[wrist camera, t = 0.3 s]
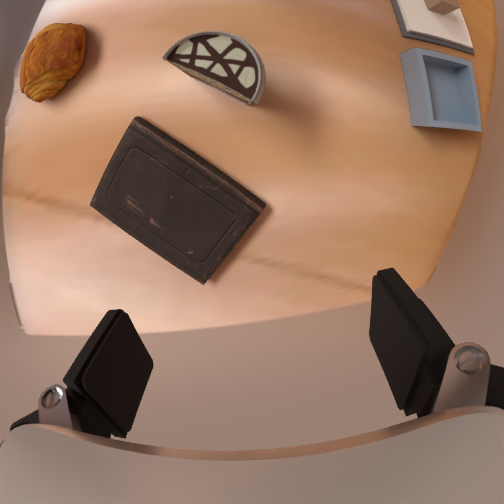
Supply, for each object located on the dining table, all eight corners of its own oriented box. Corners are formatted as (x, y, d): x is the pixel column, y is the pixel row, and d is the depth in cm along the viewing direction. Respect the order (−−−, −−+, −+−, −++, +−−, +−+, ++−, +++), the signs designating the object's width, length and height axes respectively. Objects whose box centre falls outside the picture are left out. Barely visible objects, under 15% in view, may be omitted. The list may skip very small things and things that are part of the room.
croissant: (37, 104, 33) (8, 111, 26) (42, 33, 24) (14, 32, 18) (90, 91, 33) (60, 95, 26) (98, 11, 24) (70, 3, 18)
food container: (281, 76, 31) (288, 57, 22) (257, 111, 33) (257, 102, 24) (205, 39, 29) (188, 12, 20) (182, 73, 31) (158, 55, 22)
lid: (381, -35, 19) (394, -49, 14) (446, -15, 18) (462, -24, 13) (407, 31, 25) (426, 21, 20) (469, 48, 24) (489, 44, 19)
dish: (399, 54, 28) (415, 47, 23) (453, 64, 27) (471, 61, 22) (411, 125, 33) (429, 126, 28) (463, 129, 32) (481, 131, 27)
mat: (373, -38, 19) (374, -40, 19) (447, -16, 18) (448, -17, 18) (402, 36, 26) (403, 35, 26) (472, 54, 25) (474, 54, 24)
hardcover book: (206, 278, 45) (203, 285, 43) (96, 201, 40) (89, 205, 37) (265, 202, 39) (266, 206, 37) (141, 116, 34) (134, 115, 32)
